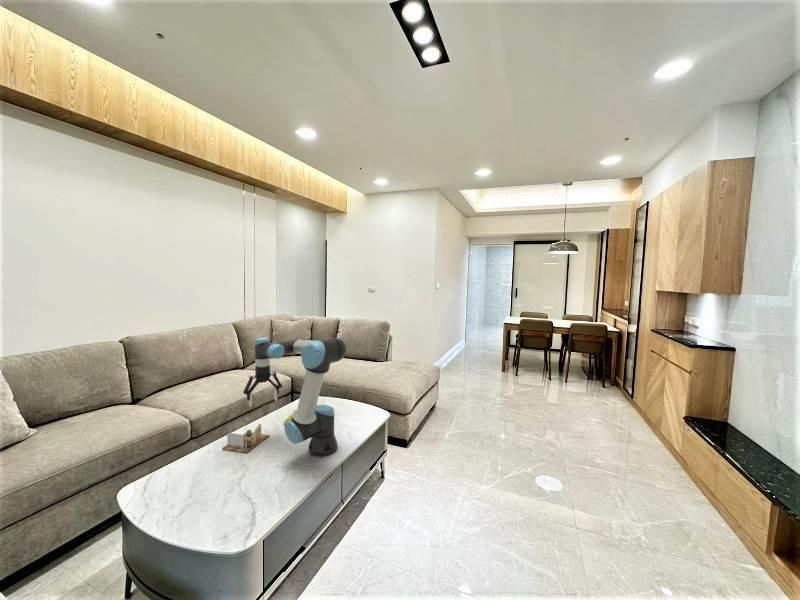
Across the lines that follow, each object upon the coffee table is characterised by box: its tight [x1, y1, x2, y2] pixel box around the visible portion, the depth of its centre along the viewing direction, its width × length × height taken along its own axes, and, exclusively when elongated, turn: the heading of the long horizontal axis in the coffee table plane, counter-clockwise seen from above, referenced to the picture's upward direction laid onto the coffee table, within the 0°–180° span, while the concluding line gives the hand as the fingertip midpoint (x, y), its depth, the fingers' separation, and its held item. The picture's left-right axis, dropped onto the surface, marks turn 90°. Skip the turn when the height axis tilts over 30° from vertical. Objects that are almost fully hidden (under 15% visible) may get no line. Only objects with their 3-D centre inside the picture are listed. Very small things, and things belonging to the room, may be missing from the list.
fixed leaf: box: [226, 429, 253, 449], centre depth 175 cm, size 12×4×9 cm, turn 77°
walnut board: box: [221, 431, 270, 454], centre depth 180 cm, size 15×19×1 cm
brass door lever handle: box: [247, 423, 262, 445], centre depth 179 cm, size 12×4×7 cm, turn 7°
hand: (263, 403), depth 183 cm, fingers open, 13 cm apart
